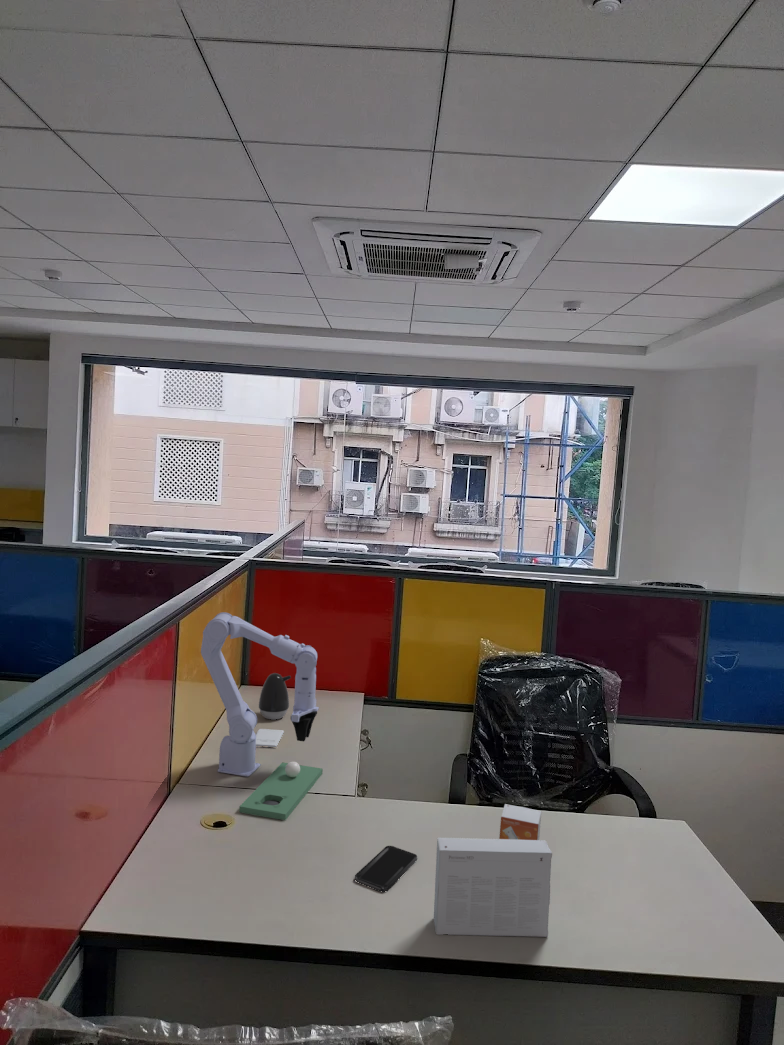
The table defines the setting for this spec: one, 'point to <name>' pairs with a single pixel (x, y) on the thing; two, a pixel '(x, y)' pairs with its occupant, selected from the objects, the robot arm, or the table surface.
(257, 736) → the external hard drive
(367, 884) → the phone
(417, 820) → the table surface
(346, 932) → the table surface
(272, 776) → the putting deck
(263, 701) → the pump dispenser
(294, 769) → the ball
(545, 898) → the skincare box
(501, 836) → the small box
